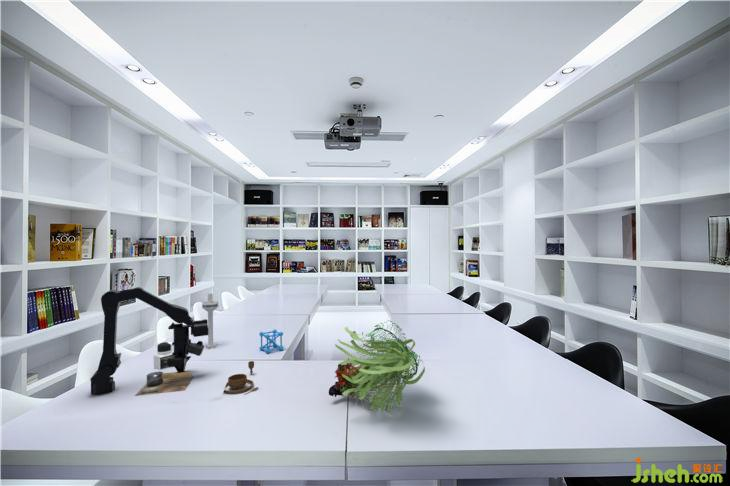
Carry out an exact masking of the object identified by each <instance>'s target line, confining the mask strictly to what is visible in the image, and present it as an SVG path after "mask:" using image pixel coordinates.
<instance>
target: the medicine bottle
mask: <svg viewBox="0 0 730 486" xmlns="http://www.w3.org/2000/svg"><path fill="white" fill-rule="evenodd" d="M172 343H173V342H170V341H164V342H161V343H158V344H157V353H154V354H153V369H156V370H157V369H158V370H164V369H168V368H175V367H174V366H167V361H168V360H169V359H170V358H171V357H172V353H173V352H174V349H173V345H172ZM173 356H176V355H173Z"/></svg>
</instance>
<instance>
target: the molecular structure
mask: <svg viewBox="0 0 730 486" xmlns="http://www.w3.org/2000/svg"><path fill="white" fill-rule="evenodd" d="M258 335H259V336H260V346H259V350H260V351H264V352H265V354H270V352H274V351H283V350H284V346H283V339H282V338H283V335H284V332H283V331H280V332H279V331H277V329H273V330H272V331H266V332H263V331H260V332H259V334H258ZM263 337H264V338H265V339H266V344H263ZM279 337H280V345H278V344H277V343H276V341H277V340H276V339H277V338H279ZM272 347H273V349H270V348H272Z"/></svg>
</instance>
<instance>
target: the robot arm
mask: <svg viewBox="0 0 730 486" xmlns="http://www.w3.org/2000/svg"><path fill="white" fill-rule="evenodd" d="M133 299H137V300H139V301H141V302H143V303H146V304H147V305H148V306H151V307H153V308H155V309H156V310H158V311H161V312H163V313H164V314H165V315H166V316H168V317H169V319H171V320H172V321H173V322H171V324H170V325H169V326H168V327H167V329H168V330H173V342H171V343H172V346H173V351H172V352H173V353H172V357H171V358H170V359H169V360H168V361H167V366H174V367H173V368H174V369H175V370H176V372H181V371H186V366H187V362H188V361H189V360H190V359H191V357H192V355H195V356H198V357H200V356H201V355H203V354H202V353H203V351H204V349H205V344H203V341H202V340H198V341H197V342H192V339H190V335H191V336H193V338H196V337H204V336H208V318H207V319H204V318H203V319H201V320H194V319H193V318H192V317H191V316H190V315H189V313H190V312H189V310H188V308H186V307H183V306H181V305H178V304H177V305H176V304H174V303H173V304H172V303H170V302H168V301H166V300H164V299H162V298H160V297H159V296H156V295H154V294H152V292H151V293H150V292H149V291H147V290H145V289H144V288H142V287H140V286H136V287H135V288H127V289H124V290H123V289H122V290H118V289H111V290H108V291H106V292H104V293H103V294H102V295H101V297H100V302H101V308H102V312H103V317H104V319H103V320H104V321H103V322H104V323H103V342H102V353H101V355H100V360H99V362H98V363H99V364H98V366H97V370H96V371H95V372H94V373H93V375H92V376H91V377H90V379H89V380H90V395H91V396H92V395H93V396H101V395H105V394H106V395H107V394H110V393H113V392H114V391H115V390H116V382H115V380H114V376H113V375H114V374H115V373H116V371H117V369H118V368H120V366H121V364H122V361H121V357H122V352H119V353H118V352H117V330H118V329H117V328H118V326H117V325H118V312H119V309H120V307H121V302H125V301H130V300H133ZM189 354H191V355H190V356H189ZM173 355H176V356H173Z"/></svg>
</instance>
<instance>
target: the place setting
mask: <svg viewBox="0 0 730 486" xmlns="http://www.w3.org/2000/svg"><path fill="white" fill-rule="evenodd" d="M247 365H248V366H247V367H248V369H250V370H249V373H250V374H249V375H250V376H253V375H254V373H253V369H254V367H255V361H253V360H252V361H251V360H250V361H248V364H247ZM247 384H248V385H250V386H248V387H246V388H244V386H246V385H247ZM227 387H229V388H231V389H232V390H226V389H225V388H227ZM253 387H254V381H253V380H251V379H248V376H247V374H245V373H237V374H232V375H230V376H229V377H228V378H227V382H226V384H225V387H224V389H223V393H224V394H228V395H236V394H243V393H244V394H243V395H244V396H246V395H247V394H249V393H251V392H255V391H257V390H258V389H259V387H258V386H257V387H254V388H253ZM249 390H250V391H249ZM247 391H248V392H247ZM245 392H246V393H245Z"/></svg>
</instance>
